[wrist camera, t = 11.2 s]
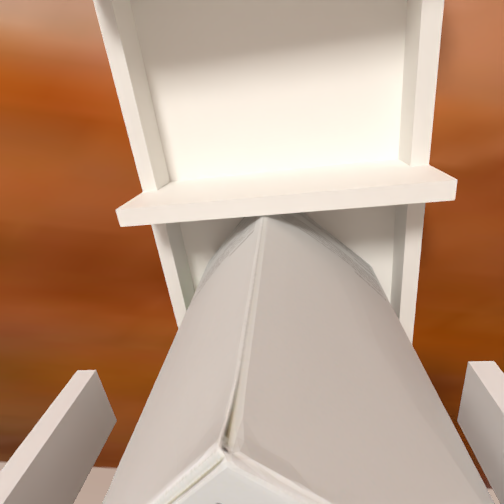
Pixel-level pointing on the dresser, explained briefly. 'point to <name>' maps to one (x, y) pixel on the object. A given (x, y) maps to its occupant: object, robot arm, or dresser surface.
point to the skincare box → (293, 388)
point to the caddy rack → (280, 125)
